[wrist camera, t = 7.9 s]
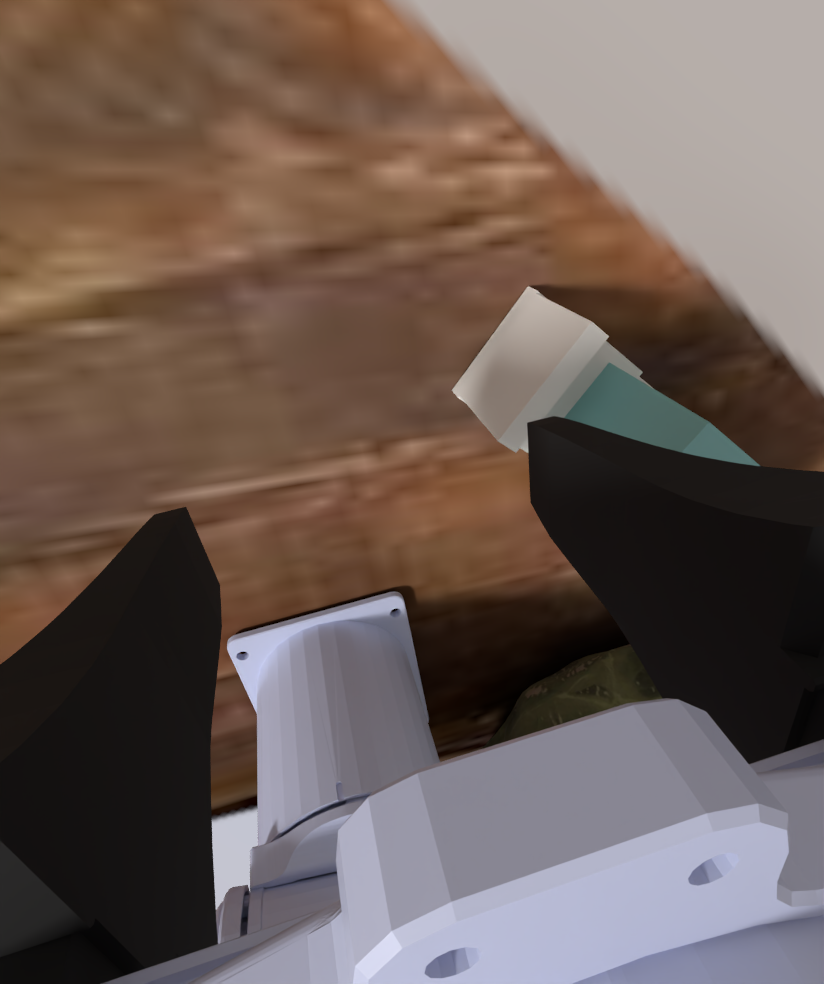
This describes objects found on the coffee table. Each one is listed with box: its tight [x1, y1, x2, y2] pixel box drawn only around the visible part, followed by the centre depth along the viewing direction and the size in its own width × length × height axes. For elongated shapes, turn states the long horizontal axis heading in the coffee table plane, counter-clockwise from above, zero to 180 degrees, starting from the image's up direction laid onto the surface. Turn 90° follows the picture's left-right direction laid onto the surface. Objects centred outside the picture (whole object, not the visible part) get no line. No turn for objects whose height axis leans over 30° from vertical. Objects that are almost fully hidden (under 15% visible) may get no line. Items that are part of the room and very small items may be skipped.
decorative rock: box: [483, 644, 662, 749], centre depth 30 cm, size 15×16×10 cm
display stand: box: [452, 286, 654, 453], centre depth 22 cm, size 12×5×5 cm, turn 54°
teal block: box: [564, 362, 760, 466], centre depth 20 cm, size 9×4×5 cm, turn 54°
